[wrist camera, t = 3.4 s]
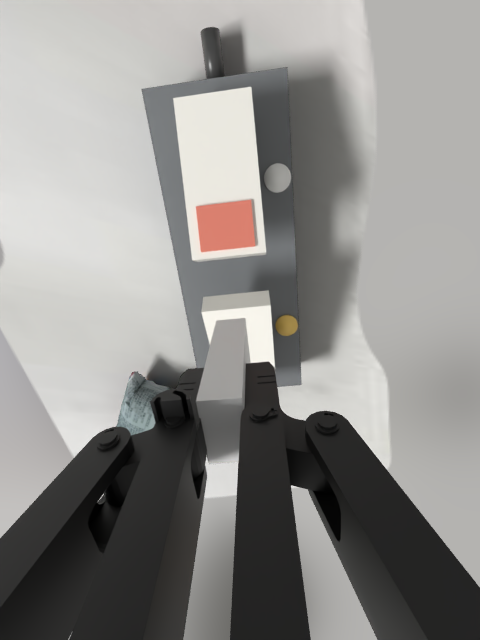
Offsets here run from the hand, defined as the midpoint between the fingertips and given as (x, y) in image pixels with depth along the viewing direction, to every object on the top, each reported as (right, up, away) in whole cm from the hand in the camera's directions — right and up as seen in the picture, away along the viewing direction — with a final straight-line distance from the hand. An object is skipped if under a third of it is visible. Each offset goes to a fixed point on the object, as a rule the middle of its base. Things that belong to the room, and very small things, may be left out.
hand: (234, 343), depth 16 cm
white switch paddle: (+1, 0, +8) cm, 8 cm away
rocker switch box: (0, +8, +10) cm, 13 cm away
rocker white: (-1, +10, +3) cm, 10 cm away
